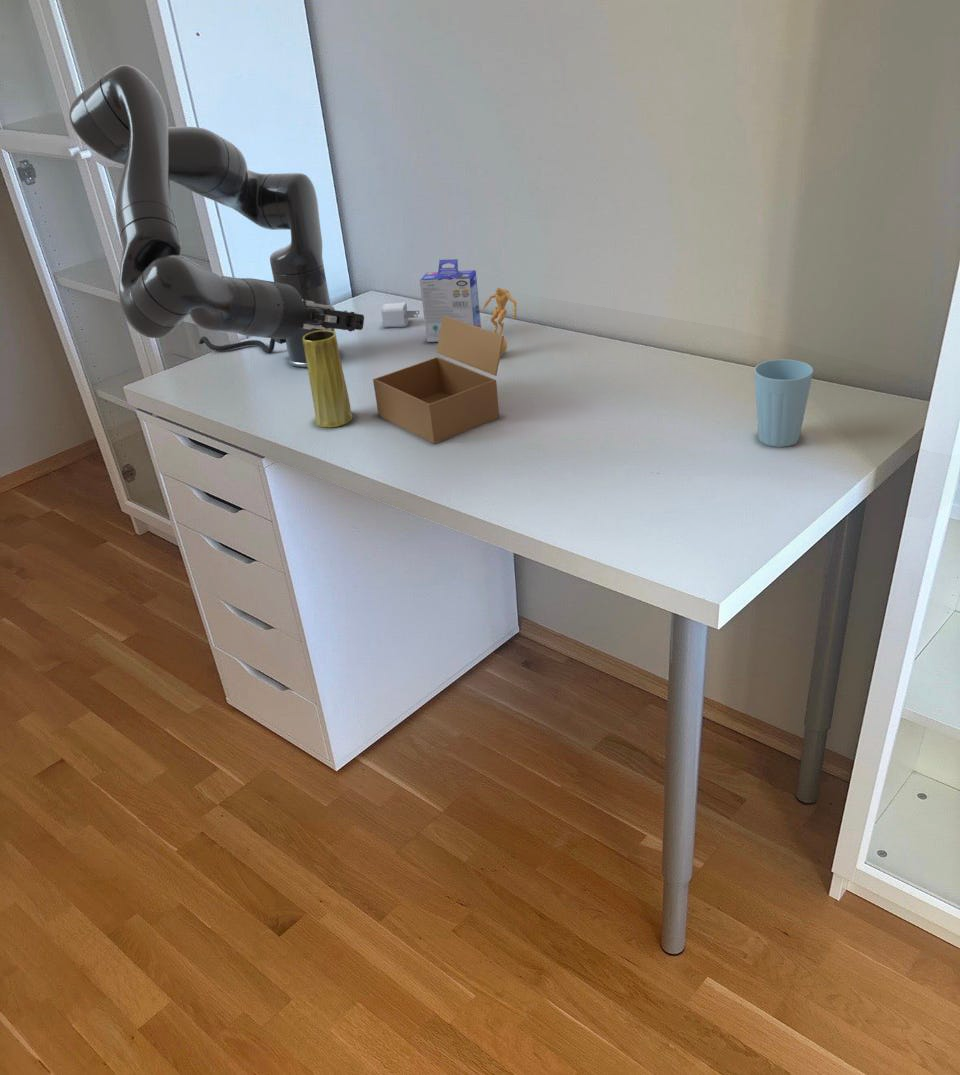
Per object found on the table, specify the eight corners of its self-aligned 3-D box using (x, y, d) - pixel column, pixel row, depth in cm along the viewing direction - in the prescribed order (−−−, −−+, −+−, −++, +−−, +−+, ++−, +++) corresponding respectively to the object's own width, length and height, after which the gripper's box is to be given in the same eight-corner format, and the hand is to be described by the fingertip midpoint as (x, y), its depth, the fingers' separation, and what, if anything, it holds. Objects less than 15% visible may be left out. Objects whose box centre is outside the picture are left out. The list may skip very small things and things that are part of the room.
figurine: (472, 355, 180) (466, 290, 174) (495, 345, 183) (490, 281, 177) (505, 363, 175) (500, 297, 168) (528, 353, 178) (524, 287, 172)
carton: (378, 415, 160) (372, 379, 157) (441, 392, 166) (437, 356, 163) (434, 443, 149) (429, 405, 145) (499, 417, 155) (496, 379, 152)
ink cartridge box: (483, 332, 190) (476, 256, 183) (477, 342, 185) (469, 265, 178) (433, 333, 192) (424, 258, 185) (426, 343, 188) (416, 267, 180)
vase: (322, 431, 156) (306, 345, 149) (310, 418, 161) (294, 334, 154) (358, 421, 158) (344, 335, 151) (345, 409, 163) (331, 325, 156)
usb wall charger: (387, 322, 201) (385, 302, 199) (421, 320, 200) (418, 301, 198) (383, 328, 197) (381, 309, 195) (418, 327, 196) (415, 307, 194)
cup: (748, 449, 138) (752, 378, 133) (752, 426, 144) (756, 358, 139) (805, 452, 136) (811, 381, 130) (807, 428, 142) (813, 359, 136)
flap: (442, 315, 160) (444, 315, 161) (436, 353, 162) (437, 353, 162) (502, 335, 149) (504, 335, 150) (495, 375, 151) (496, 375, 151)
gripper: (303, 286, 129) (380, 298, 142) (226, 274, 136) (306, 287, 149) (297, 344, 130) (373, 350, 144) (221, 329, 137) (300, 337, 151)
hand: (339, 318), depth 147 cm, fingers open, 8 cm apart
